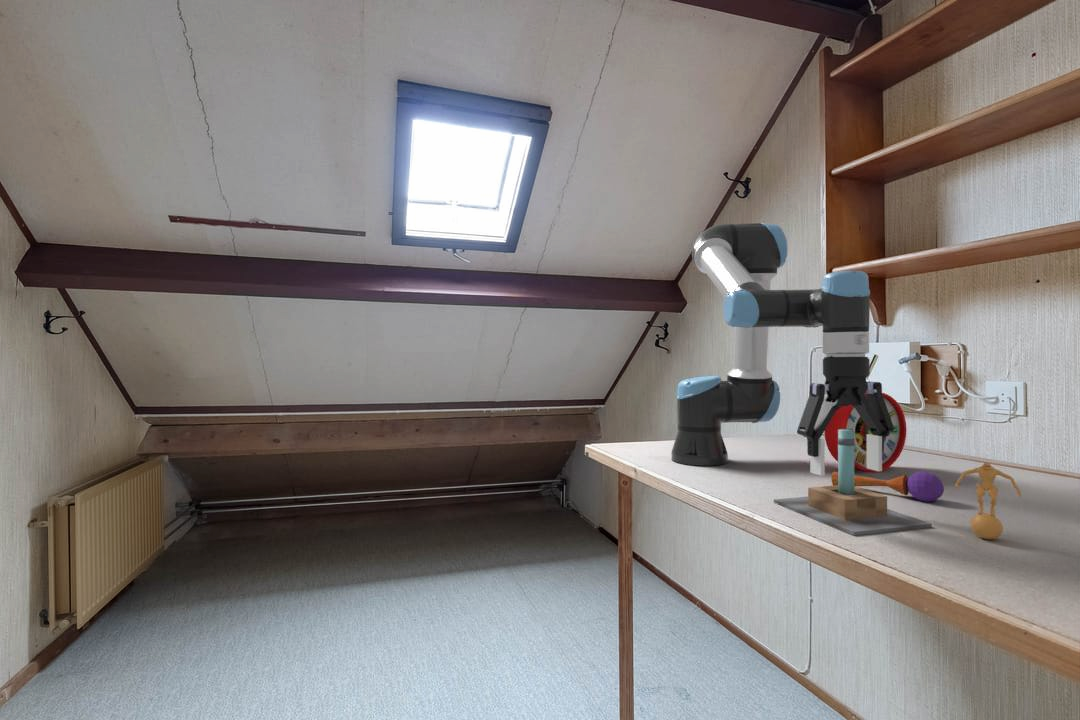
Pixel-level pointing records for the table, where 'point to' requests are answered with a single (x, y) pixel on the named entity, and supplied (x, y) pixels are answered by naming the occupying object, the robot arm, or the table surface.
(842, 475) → the banded teal rod
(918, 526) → the gray base plate
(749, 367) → the robot arm
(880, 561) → the table surface
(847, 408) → the toy clock
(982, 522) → the figurine
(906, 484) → the kendama
